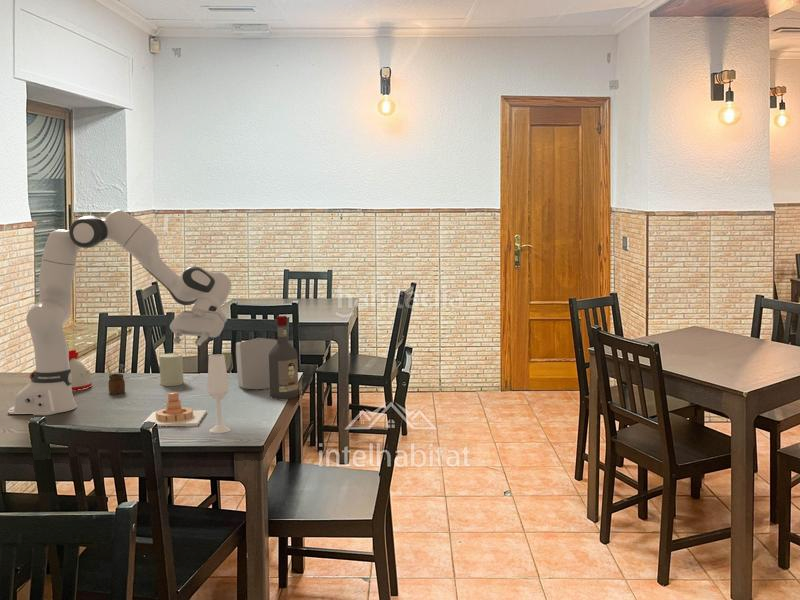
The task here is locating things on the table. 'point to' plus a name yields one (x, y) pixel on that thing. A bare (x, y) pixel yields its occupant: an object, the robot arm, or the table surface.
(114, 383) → the utensil holder
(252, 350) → the electrical switch box
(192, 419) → the collar plate
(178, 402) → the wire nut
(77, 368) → the kitchen timer
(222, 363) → the champagne flute
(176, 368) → the can
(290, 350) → the liquor
